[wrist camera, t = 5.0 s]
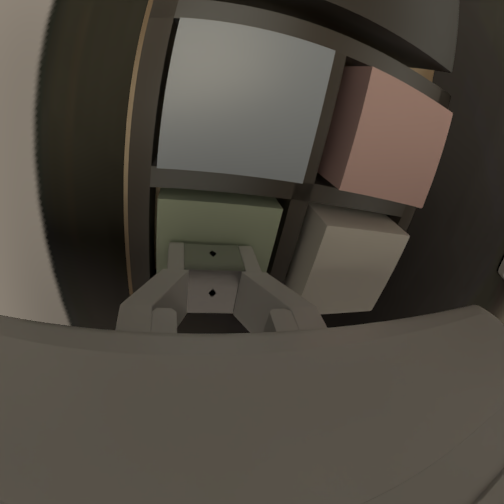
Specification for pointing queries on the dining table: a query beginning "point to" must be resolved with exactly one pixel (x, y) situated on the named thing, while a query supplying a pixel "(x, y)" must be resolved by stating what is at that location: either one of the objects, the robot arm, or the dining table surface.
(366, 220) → the offwhite key
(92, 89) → the dining table surface
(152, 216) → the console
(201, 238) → the sage key
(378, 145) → the rose key
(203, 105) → the slate key
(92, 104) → the dining table surface
